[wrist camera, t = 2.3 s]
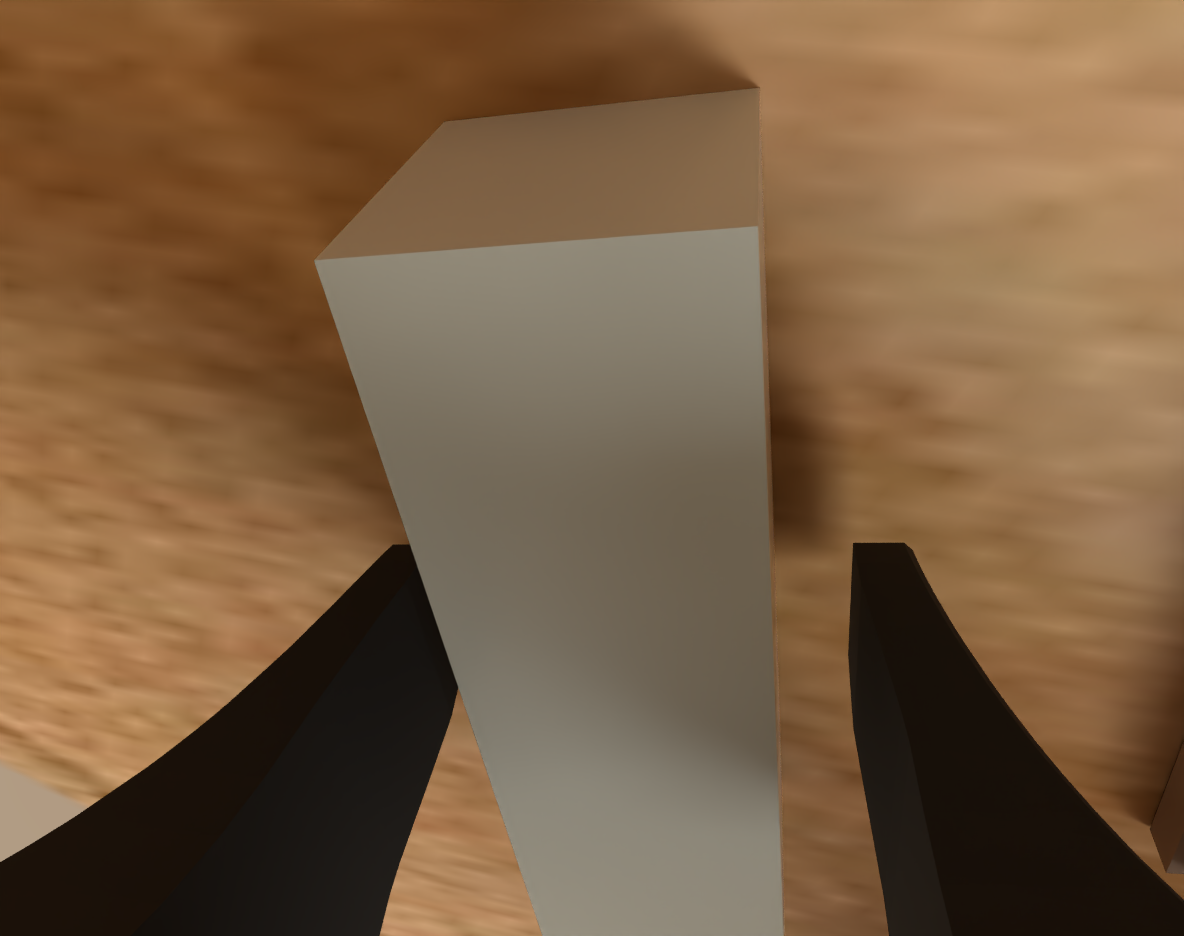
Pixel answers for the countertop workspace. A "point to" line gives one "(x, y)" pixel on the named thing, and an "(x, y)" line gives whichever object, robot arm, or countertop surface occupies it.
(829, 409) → the countertop surface
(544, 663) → the grey rectangular block
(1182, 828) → the tray
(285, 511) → the countertop surface
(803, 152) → the countertop surface
